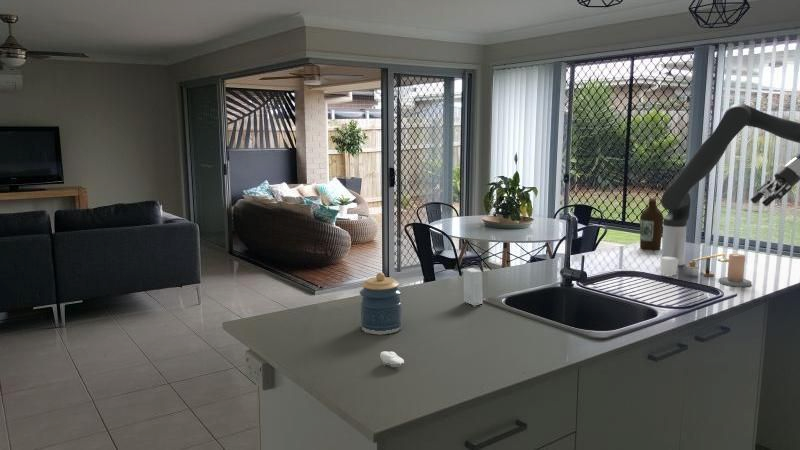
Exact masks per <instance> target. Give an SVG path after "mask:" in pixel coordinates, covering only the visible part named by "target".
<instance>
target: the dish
mask: <svg viewBox="0 0 800 450" xmlns="http://www.w3.org/2000/svg"><path fill="white" fill-rule="evenodd" d="M719 282H720V283H719ZM718 283H719V284H721V283H722V284H721V285H724V284H725V285H724V286H728V285H729V286H728V287H734V286H738V287H737V288H740V287H741V288H745V287H746V288H748V287H751V286H752V281H751V280H749V279H746V278H744V279H743V282H730V281H728V280H727V276H725V277H723V276H722V277H719V278H718Z"/></svg>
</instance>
